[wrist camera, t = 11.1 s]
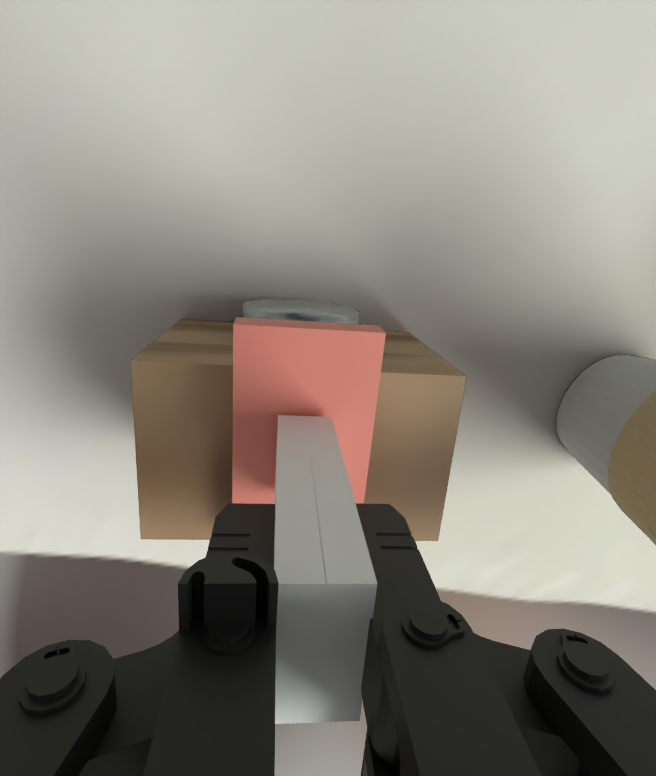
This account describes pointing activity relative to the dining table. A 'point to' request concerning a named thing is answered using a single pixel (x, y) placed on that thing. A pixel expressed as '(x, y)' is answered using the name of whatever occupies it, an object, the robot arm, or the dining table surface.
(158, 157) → the dining table surface
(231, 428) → the block
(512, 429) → the dining table surface
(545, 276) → the dining table surface
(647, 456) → the coffee cup
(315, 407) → the block
